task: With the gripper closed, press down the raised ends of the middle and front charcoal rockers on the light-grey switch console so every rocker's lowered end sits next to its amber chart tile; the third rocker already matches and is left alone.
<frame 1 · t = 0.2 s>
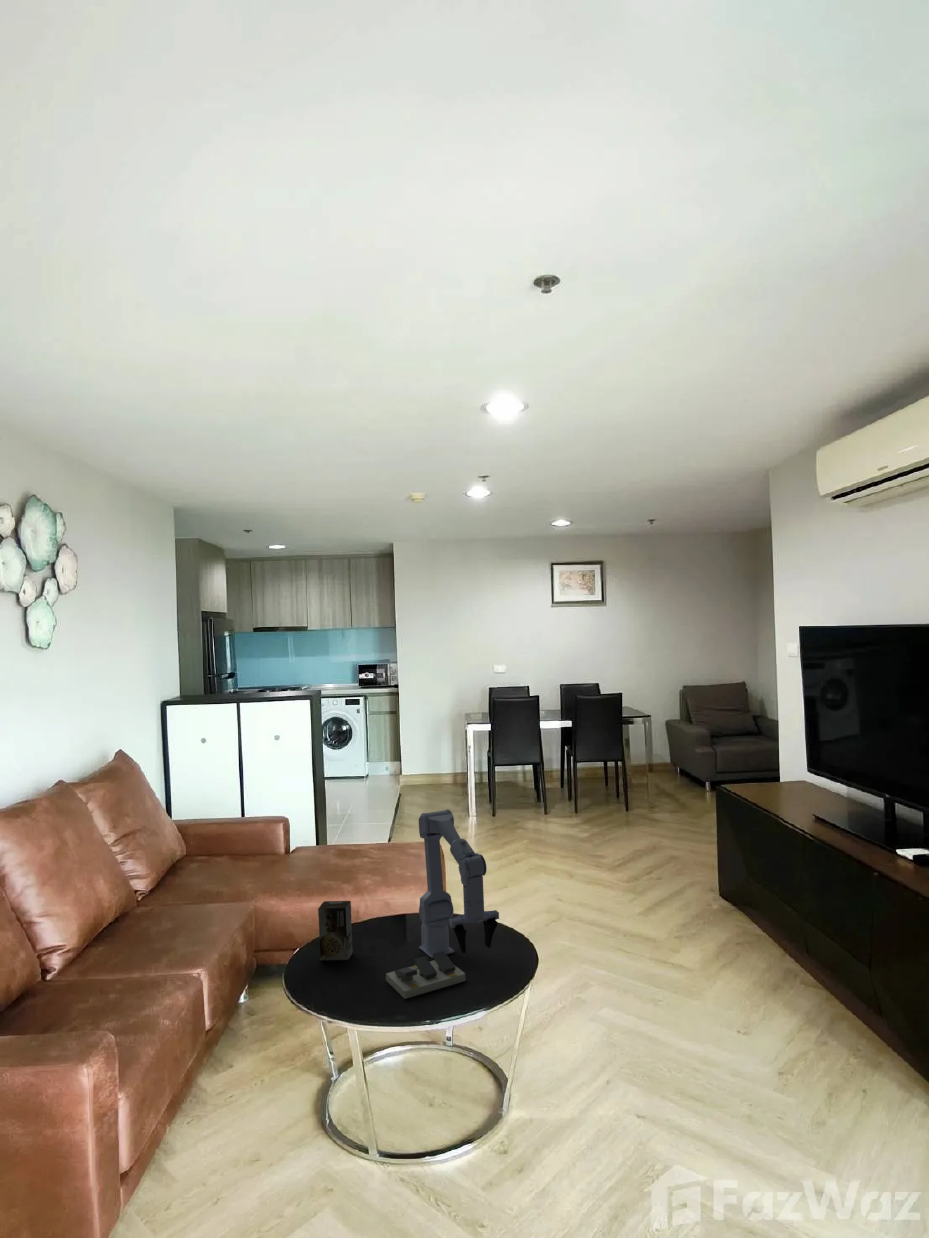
hand: (475, 948, 199), 10 cm above the table, fingers open, 7 cm apart
rocker mid: (425, 967, 202), point 4 cm above the table, hinge at 15.0°
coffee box: (336, 956, 222), on the table
console: (425, 980, 202), on the table
rocker back: (443, 962, 205), point 4 cm above the table, hinge at 15.0°
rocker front: (406, 972, 200), point 4 cm above the table, hinge at -15.0°
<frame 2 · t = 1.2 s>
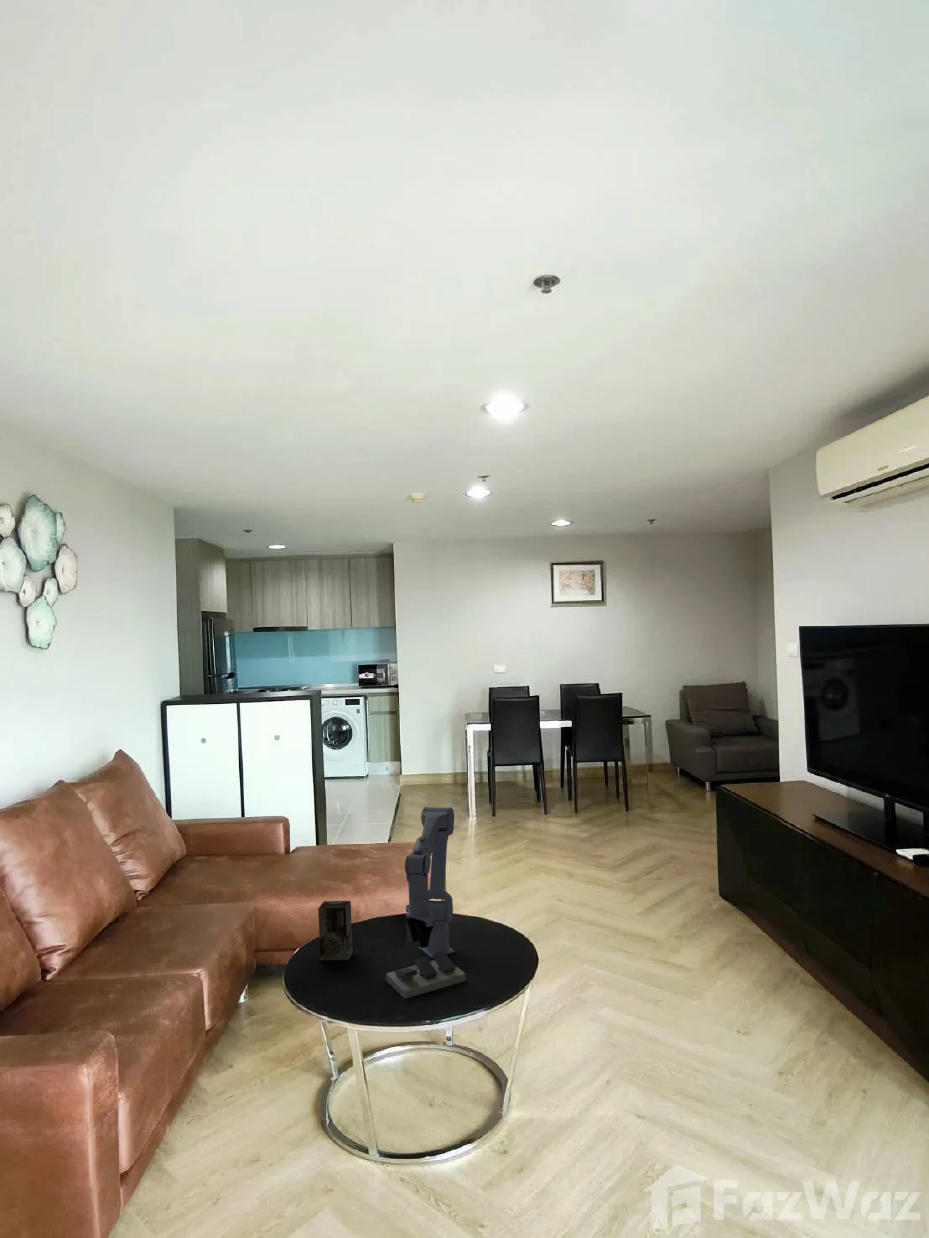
hand: (420, 943, 205), 9 cm above the table, fingers open, 5 cm apart
nothing on the table moved.
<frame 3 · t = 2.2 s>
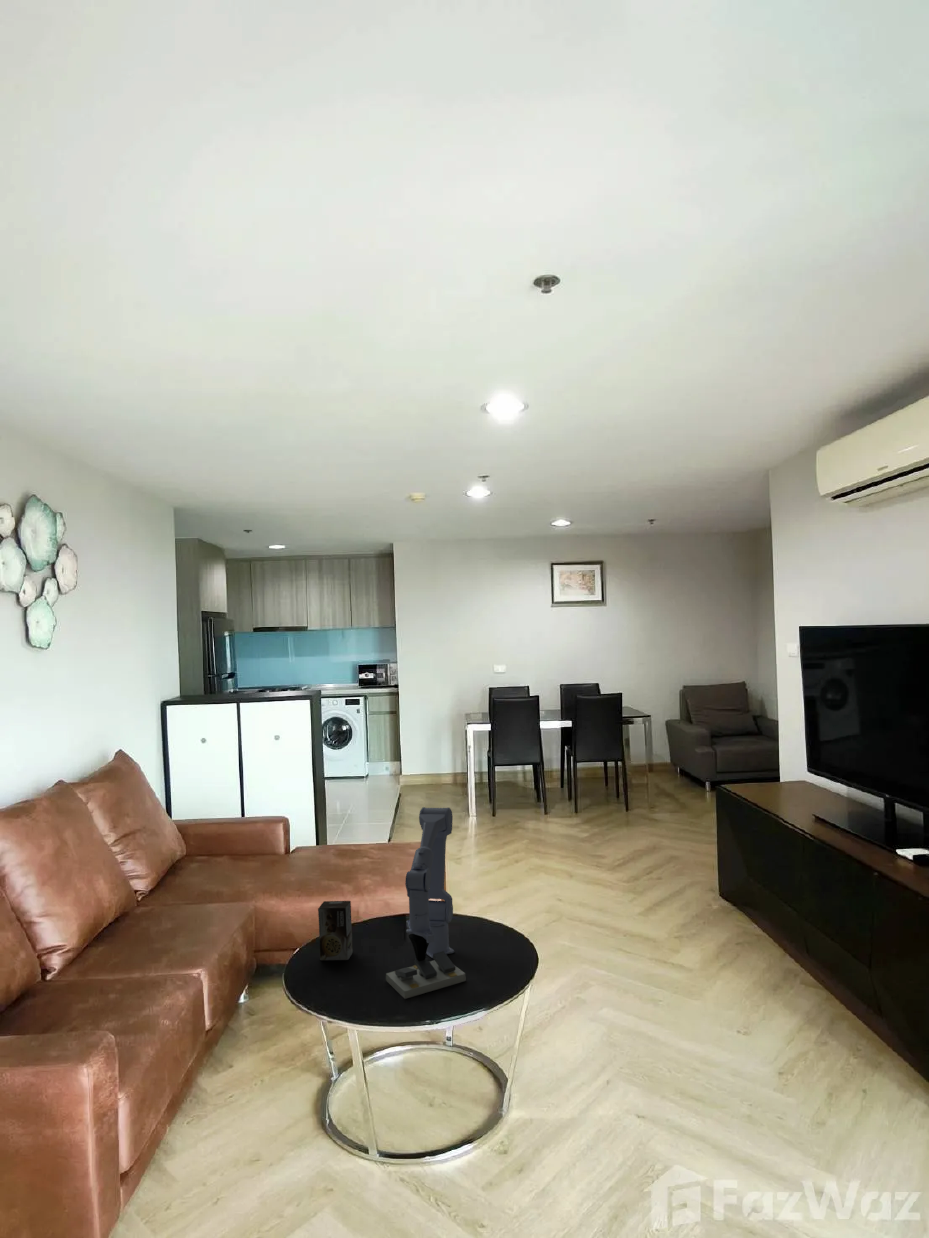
hand: (420, 959, 205), 5 cm above the table, fingers closed, pressing on rocker mid
rocker mid: (425, 967, 202), point 4 cm above the table, hinge at 15.0°, touching gripper
everything else where it was.
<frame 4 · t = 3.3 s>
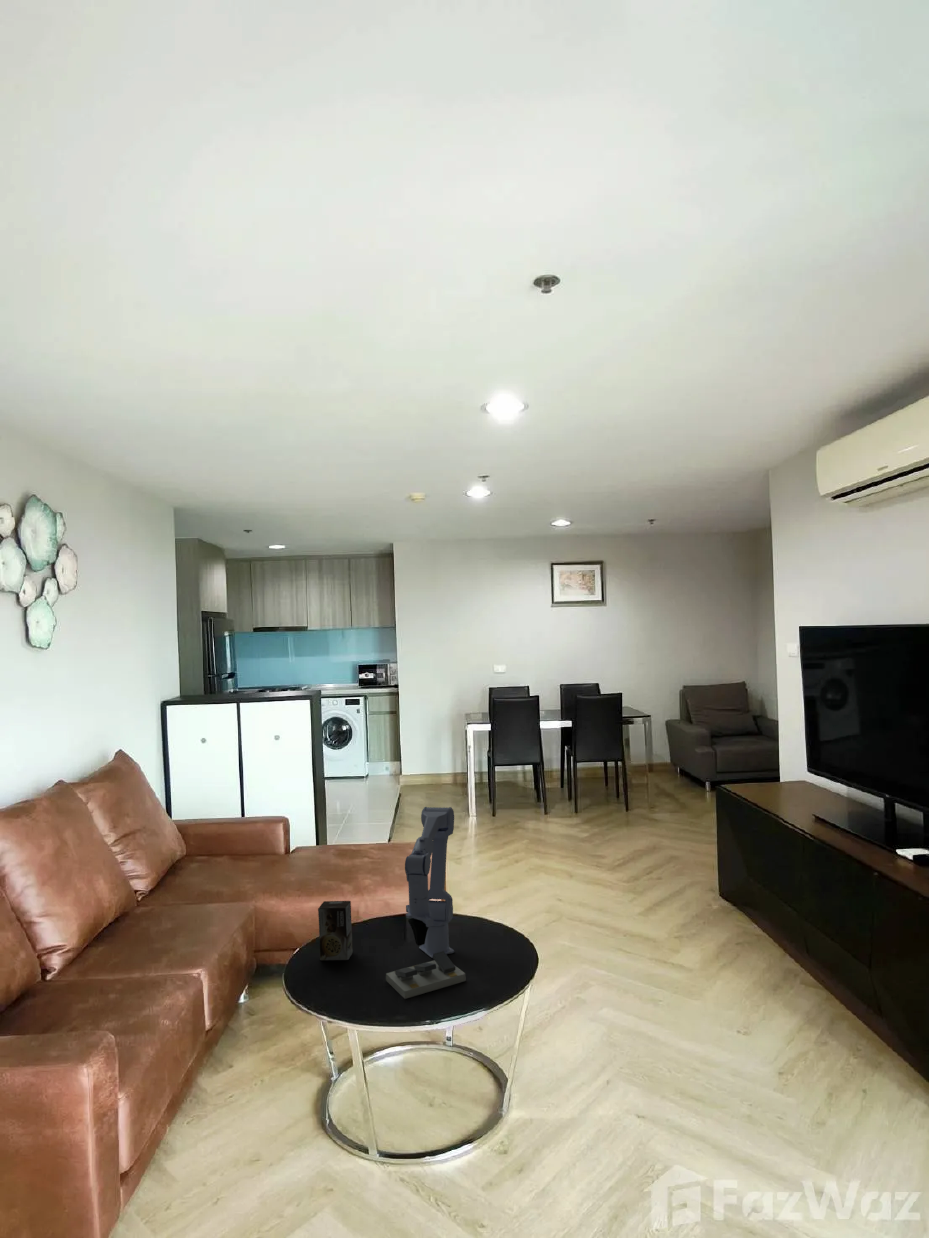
hand: (420, 944, 205), 9 cm above the table, fingers closed
rocker mid: (425, 967, 203), point 4 cm above the table, hinge at -16.8°
everything else where it was.
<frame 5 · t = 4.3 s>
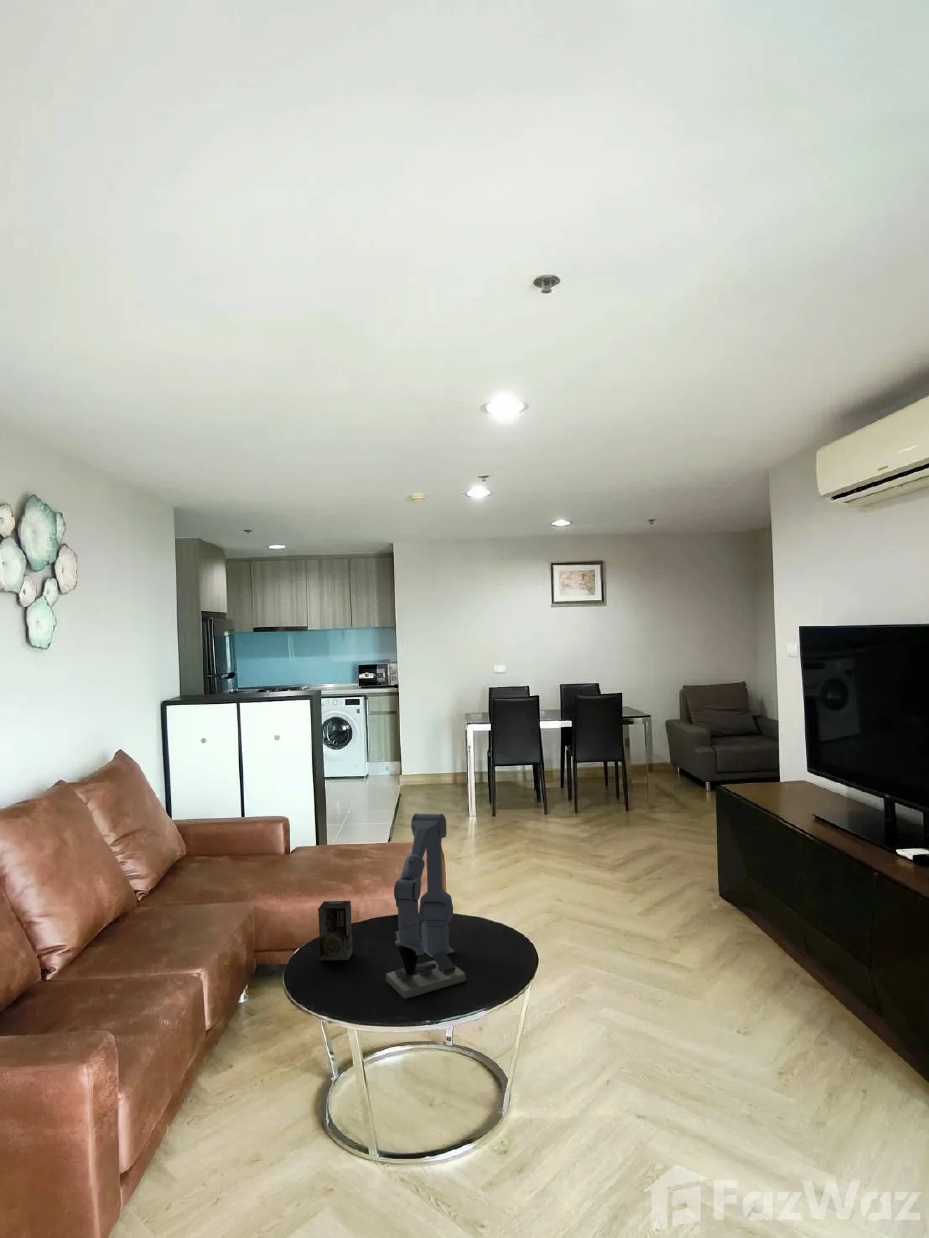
hand: (410, 972, 197), 5 cm above the table, fingers closed, pressing on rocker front
rocker mid: (425, 967, 203), point 4 cm above the table, hinge at -18.3°
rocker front: (406, 972, 200), point 4 cm above the table, hinge at -14.6°, touching gripper
everything else where it was.
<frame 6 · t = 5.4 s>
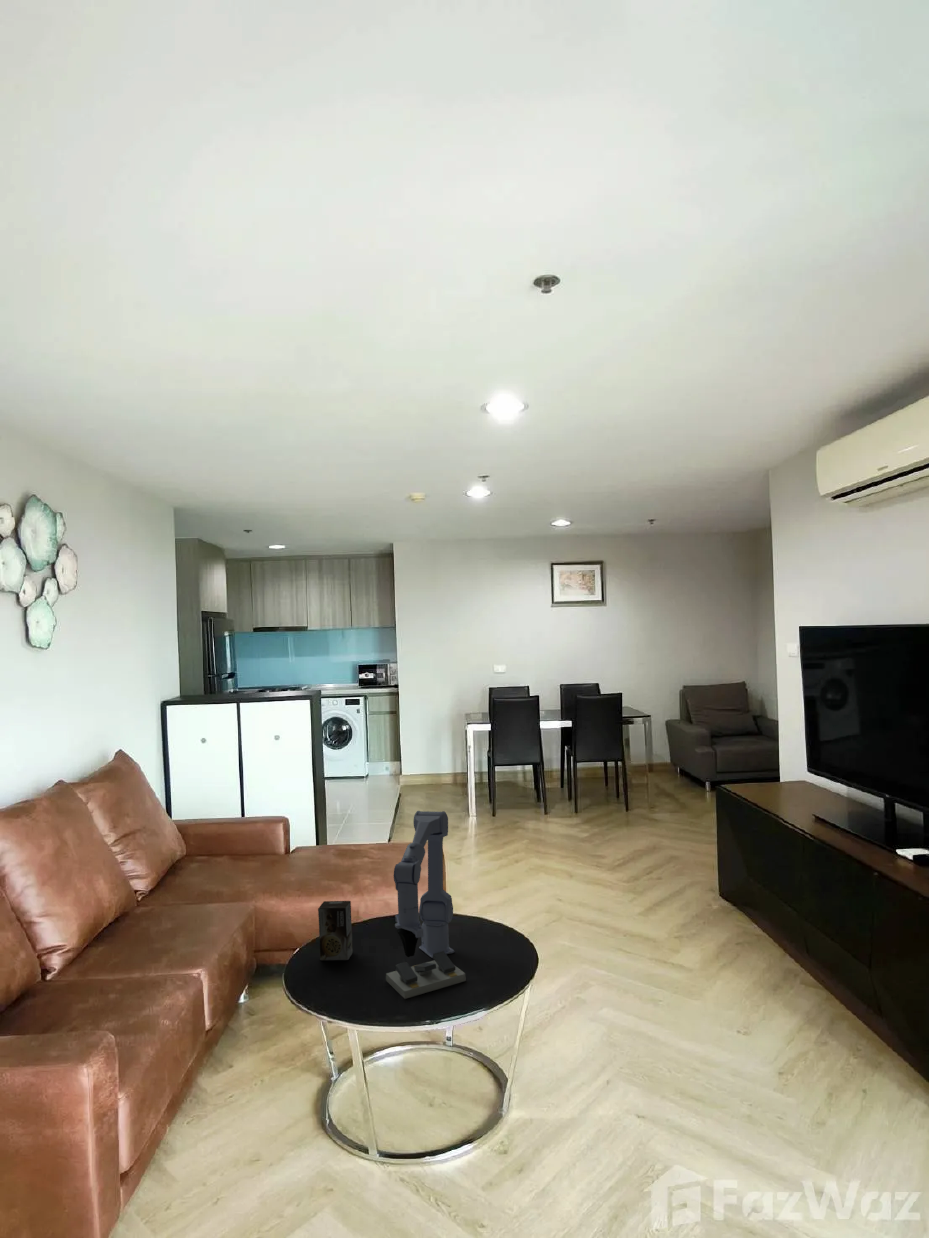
hand: (409, 955, 198), 9 cm above the table, fingers closed
rocker mid: (425, 967, 203), point 4 cm above the table, hinge at -17.6°
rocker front: (406, 972, 200), point 4 cm above the table, hinge at 12.4°
everything else where it was.
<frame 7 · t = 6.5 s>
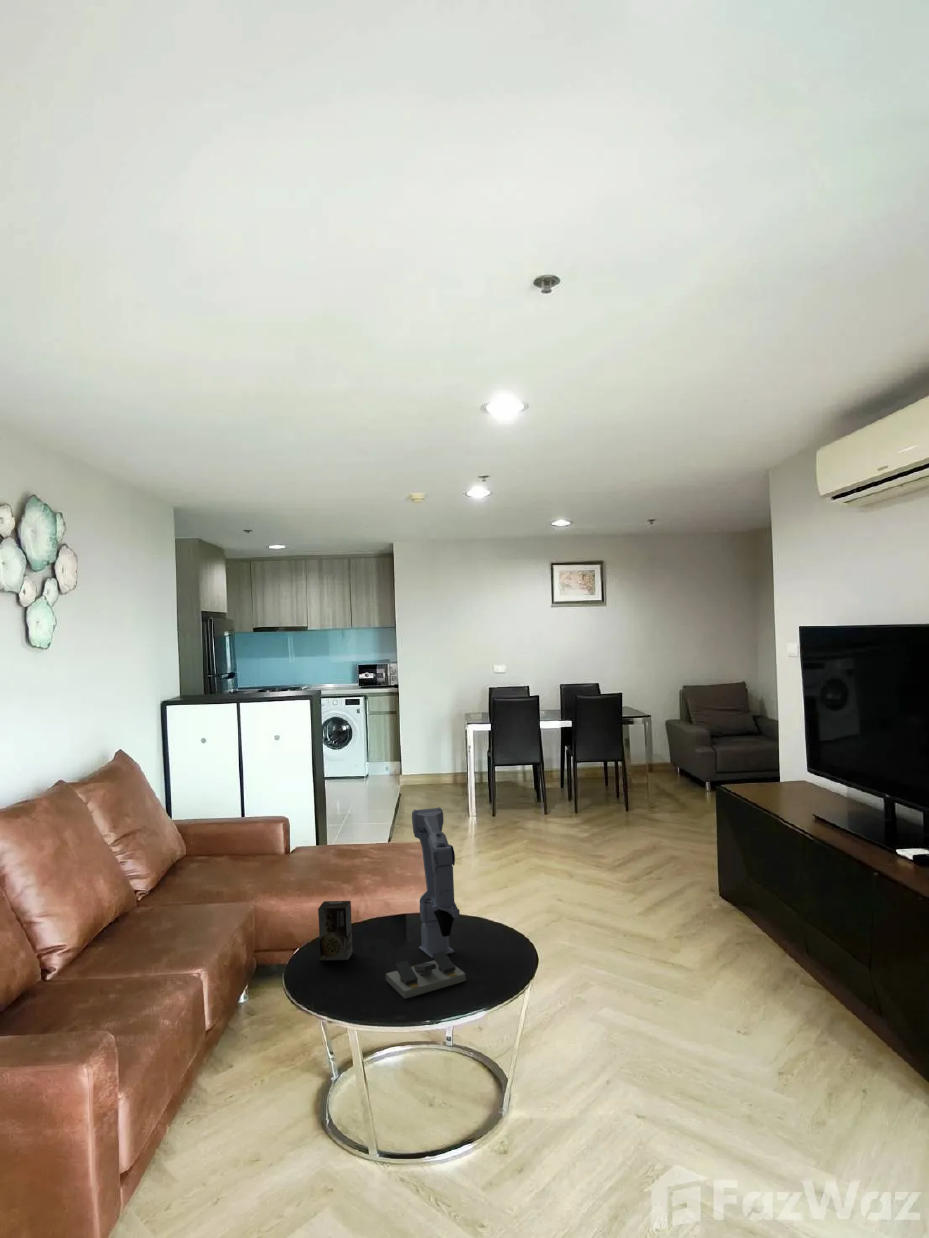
hand: (446, 935, 208), 10 cm above the table, fingers closed
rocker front: (406, 972, 200), point 4 cm above the table, hinge at 17.5°
everything else where it was.
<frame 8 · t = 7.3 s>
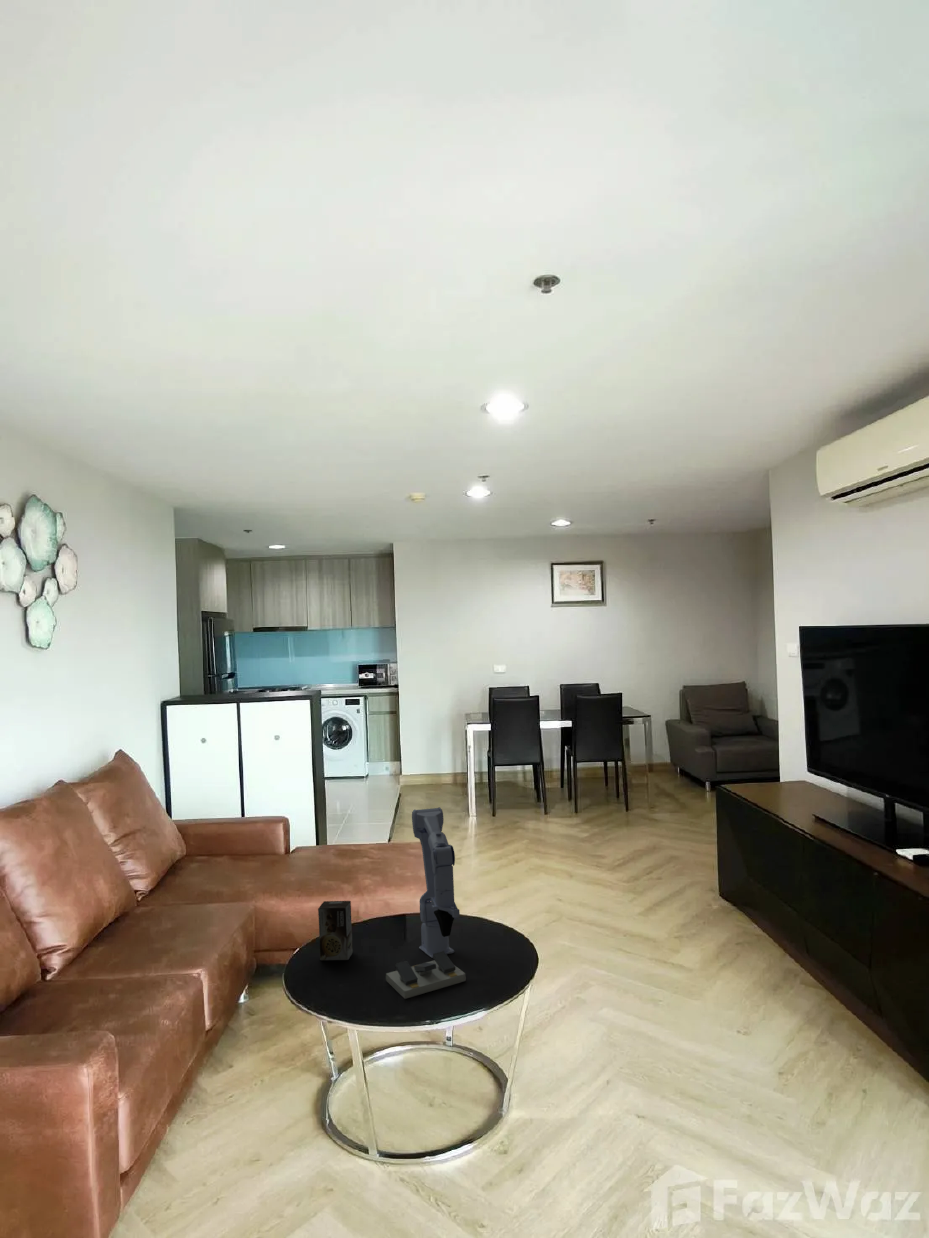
hand: (446, 935, 208), 10 cm above the table, fingers closed
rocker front: (406, 972, 200), point 4 cm above the table, hinge at 18.5°
everything else where it was.
at the end: rocker mid at -17° (first picture: +15°); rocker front at +19° (first picture: -15°); rocker back at +15° (first picture: +15°) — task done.
